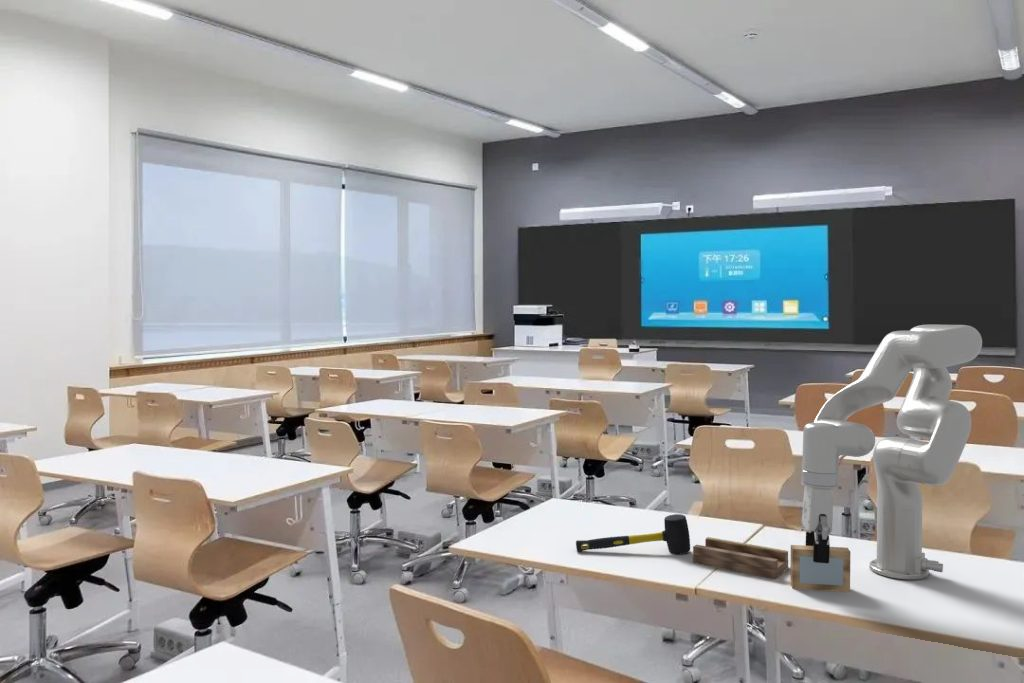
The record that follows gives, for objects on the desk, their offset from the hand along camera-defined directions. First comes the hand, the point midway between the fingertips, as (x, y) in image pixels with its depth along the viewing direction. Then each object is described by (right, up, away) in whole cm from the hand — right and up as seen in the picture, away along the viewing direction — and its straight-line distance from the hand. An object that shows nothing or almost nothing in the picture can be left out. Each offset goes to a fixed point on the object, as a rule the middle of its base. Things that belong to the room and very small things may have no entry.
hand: (816, 556), depth 174 cm
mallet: (-36, -7, +28) cm, 46 cm away
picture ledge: (-12, -7, +17) cm, 22 cm away
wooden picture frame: (+1, -7, +1) cm, 7 cm away
